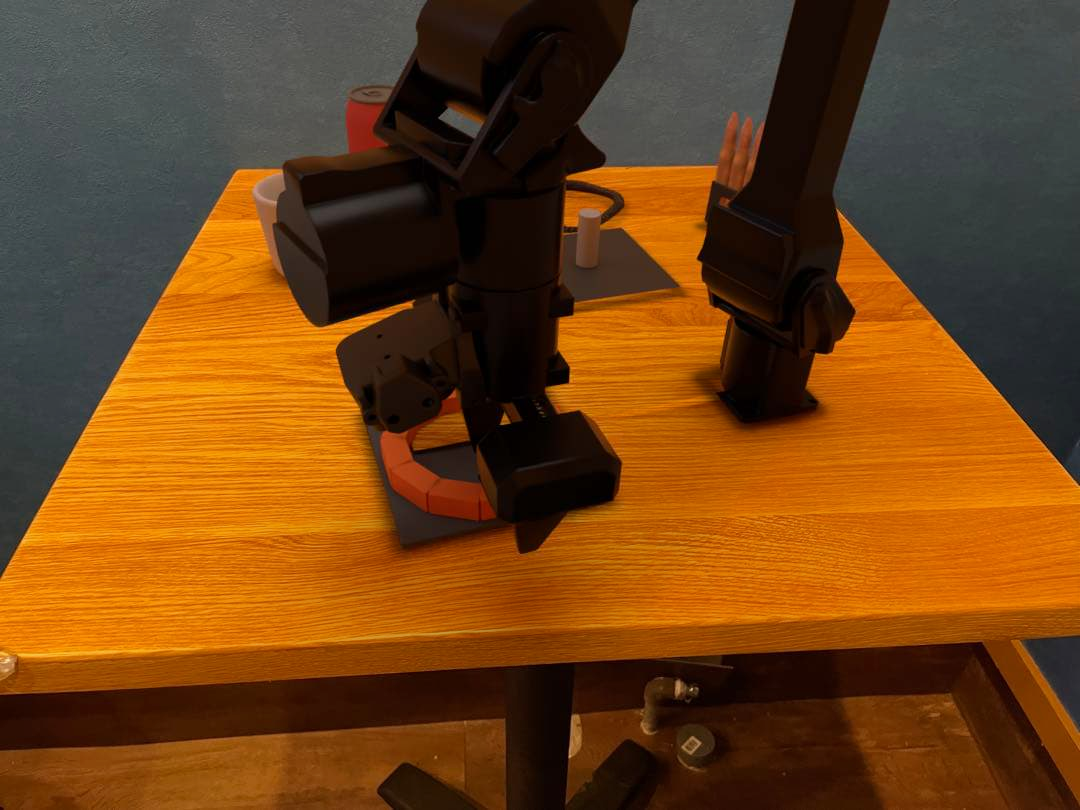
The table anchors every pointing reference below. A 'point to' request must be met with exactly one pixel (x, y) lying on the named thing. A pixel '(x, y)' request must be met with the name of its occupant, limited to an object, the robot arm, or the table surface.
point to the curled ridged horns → (599, 191)
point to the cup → (269, 210)
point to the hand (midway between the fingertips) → (502, 497)
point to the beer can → (365, 116)
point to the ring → (432, 477)
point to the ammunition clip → (734, 162)
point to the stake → (607, 262)
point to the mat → (445, 464)
